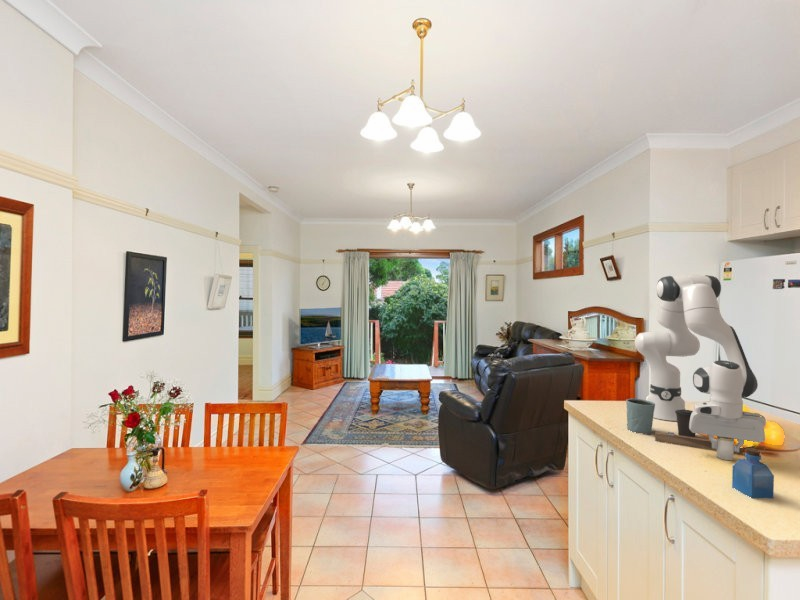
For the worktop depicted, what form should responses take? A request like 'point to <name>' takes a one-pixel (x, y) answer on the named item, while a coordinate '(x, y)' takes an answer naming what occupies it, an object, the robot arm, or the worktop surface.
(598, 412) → the worktop surface
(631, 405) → the grey-green plant pot
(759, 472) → the perfume bottle
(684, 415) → the coffee cup
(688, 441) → the walnut fence
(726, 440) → the round canister
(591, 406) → the worktop surface
